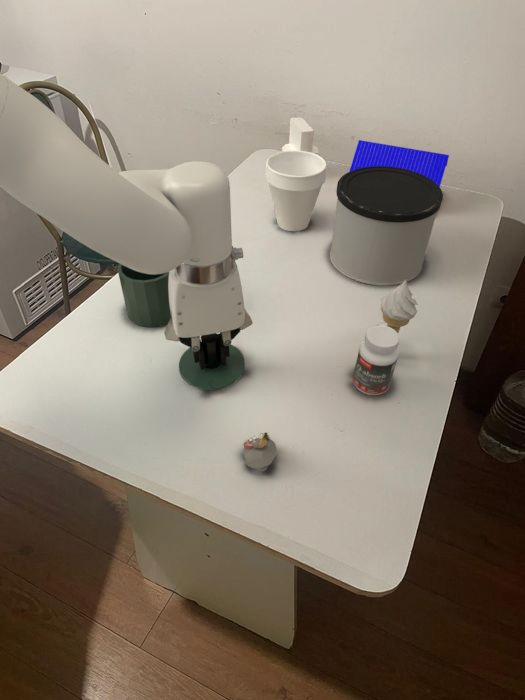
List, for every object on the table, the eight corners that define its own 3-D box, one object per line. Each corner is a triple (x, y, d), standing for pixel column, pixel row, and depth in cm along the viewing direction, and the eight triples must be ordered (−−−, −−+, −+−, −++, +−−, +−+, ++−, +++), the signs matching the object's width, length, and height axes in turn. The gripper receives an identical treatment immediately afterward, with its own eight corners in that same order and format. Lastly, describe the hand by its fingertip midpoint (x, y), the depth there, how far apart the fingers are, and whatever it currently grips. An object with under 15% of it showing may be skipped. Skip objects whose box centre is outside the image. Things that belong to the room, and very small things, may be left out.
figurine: (268, 480, 67) (269, 453, 62) (236, 469, 68) (235, 442, 63) (281, 448, 70) (283, 421, 66) (251, 439, 71) (251, 411, 67)
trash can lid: (185, 398, 76) (180, 367, 71) (174, 351, 83) (170, 320, 78) (252, 385, 78) (252, 354, 73) (236, 340, 85) (235, 309, 80)
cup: (276, 204, 118) (278, 146, 109) (327, 215, 115) (334, 155, 106) (256, 231, 110) (256, 170, 101) (311, 243, 107) (316, 181, 97)
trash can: (130, 331, 87) (119, 286, 80) (125, 298, 93) (115, 254, 86) (184, 322, 89) (178, 277, 82) (176, 290, 95) (170, 246, 88)
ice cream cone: (365, 361, 82) (381, 286, 72) (373, 339, 86) (390, 265, 76) (400, 371, 81) (422, 295, 70) (407, 348, 85) (428, 273, 74)
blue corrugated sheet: (431, 216, 115) (445, 166, 107) (345, 199, 121) (352, 150, 112) (439, 192, 123) (452, 144, 115) (358, 177, 129) (365, 130, 120)
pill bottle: (348, 390, 78) (357, 342, 71) (357, 365, 82) (366, 318, 75) (385, 401, 76) (398, 353, 69) (393, 375, 80) (406, 328, 73)
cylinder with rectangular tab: (321, 178, 128) (326, 129, 120) (287, 182, 126) (289, 133, 118) (309, 163, 134) (313, 115, 126) (276, 167, 132) (278, 119, 124)
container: (321, 234, 109) (328, 166, 99) (407, 231, 111) (424, 163, 100) (338, 288, 96) (349, 216, 85) (436, 284, 97) (458, 212, 87)
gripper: (256, 237, 71) (256, 336, 83) (137, 254, 67) (156, 354, 80) (271, 268, 65) (268, 368, 78) (143, 288, 62) (162, 389, 75)
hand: (211, 360), depth 79 cm, fingers closed on trash can lid, 2 cm apart
